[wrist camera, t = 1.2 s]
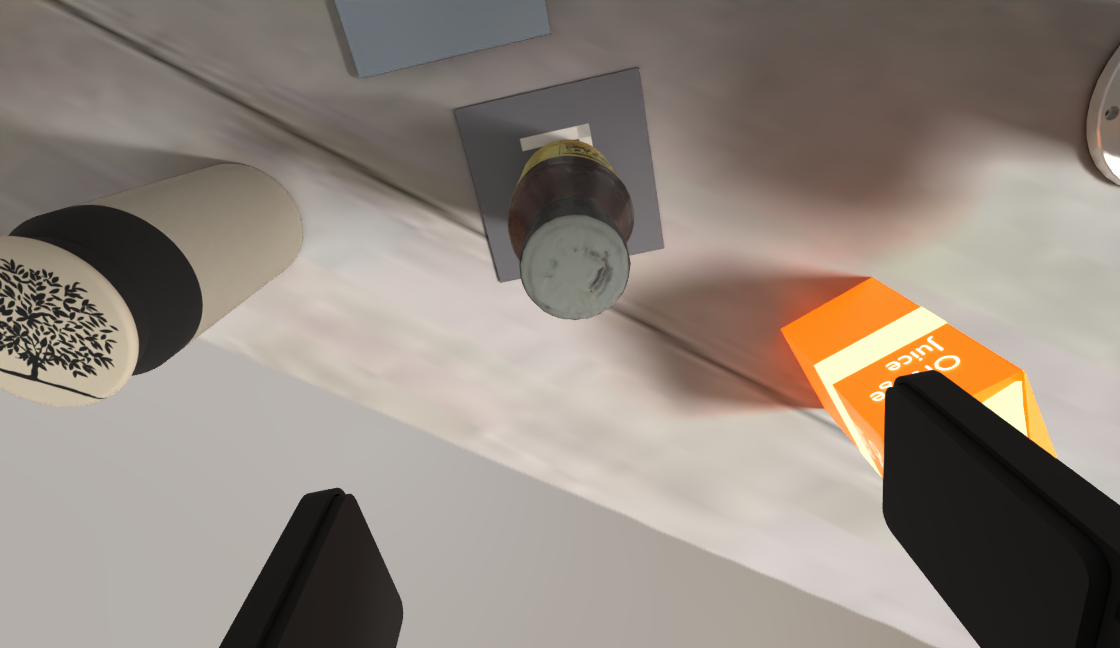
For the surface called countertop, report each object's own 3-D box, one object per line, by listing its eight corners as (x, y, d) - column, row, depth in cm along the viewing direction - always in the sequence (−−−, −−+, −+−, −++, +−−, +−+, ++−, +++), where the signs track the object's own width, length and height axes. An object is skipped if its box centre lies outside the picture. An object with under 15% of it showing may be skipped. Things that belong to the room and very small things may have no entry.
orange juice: (823, 410, 47) (1002, 625, 29) (778, 329, 44) (946, 511, 26) (914, 362, 46) (1165, 557, 27) (874, 274, 43) (1126, 427, 24)
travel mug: (205, 139, 37) (-61, 192, 21) (322, 201, 39) (163, 295, 23) (170, 242, 40) (-90, 361, 24) (281, 296, 42) (112, 442, 25)
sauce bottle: (629, 193, 39) (706, 298, 21) (556, 247, 41) (569, 389, 22) (573, 112, 37) (604, 150, 19) (498, 171, 38) (459, 260, 20)
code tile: (638, 67, 36) (638, 67, 36) (663, 247, 41) (664, 248, 41) (454, 109, 37) (454, 110, 37) (500, 281, 42) (500, 282, 42)
